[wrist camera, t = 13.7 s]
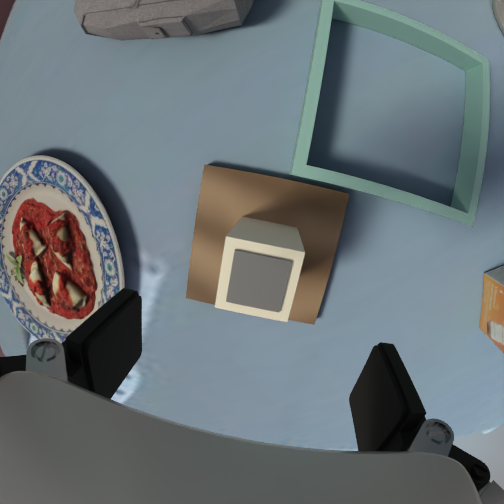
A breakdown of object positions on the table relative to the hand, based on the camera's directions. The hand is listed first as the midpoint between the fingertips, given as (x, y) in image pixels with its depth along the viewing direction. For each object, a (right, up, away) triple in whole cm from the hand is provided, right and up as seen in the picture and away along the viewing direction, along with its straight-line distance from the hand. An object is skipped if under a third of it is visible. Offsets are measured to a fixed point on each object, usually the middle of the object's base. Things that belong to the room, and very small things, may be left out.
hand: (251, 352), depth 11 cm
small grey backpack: (-9, +31, +11) cm, 34 cm away
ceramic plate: (-26, +3, +20) cm, 33 cm away
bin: (+14, +17, +12) cm, 25 cm away
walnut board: (+1, +4, +17) cm, 17 cm away
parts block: (+1, +4, +16) cm, 16 cm away
